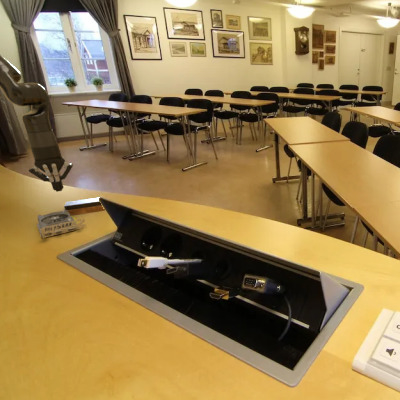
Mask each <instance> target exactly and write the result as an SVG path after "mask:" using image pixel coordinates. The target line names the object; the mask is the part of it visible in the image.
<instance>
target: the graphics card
mask: <svg viewBox="0 0 400 400" xmlns="http://www.w3.org/2000/svg"><path fill="white" fill-rule="evenodd" d="M63 210H64V209H63ZM63 210H61V211H54V212H49V213H46V214H43V215H41V214H38V215H37V222H38V223H36V225H37V229H38V232H39V235H40V238H42V240H43V241H44V239H45V238H49V237H52V236H58V235H60V234H65V233H70V232H73V231H77V230H82V229H84V228H85V227H87V224H86V223H85V222H86V221H85V218H83V219H82V218H79V219H77V218H76V217H75V216H74V215H70V214H69V212H68V211H67V210H64V211H63Z"/></svg>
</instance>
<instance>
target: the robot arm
mask: <svg viewBox="0 0 400 400" xmlns="http://www.w3.org/2000/svg"><path fill="white" fill-rule="evenodd" d="M21 80H22V74H21V72H20V71H19V70H18V69H17V68H16V67H15V66H14V65H13V64H11V63H10V62H9V60H7V59H6V58H5V57H4V56H3V55H2V54H0V91H1V92H2V94H3V95H4V97H5V98H6V99H7V100H8V101H9V102H10V103H11V104H13V105H15V106H18V107H29V106H30V111H29V112H27V113H24V114H22V115H21V122H22V125H23V127H24V131H25V134H26V138H27V143H28V145H29V149H30V150H31V153H32V156H33V159H34V162H33V164H34V165H33V166H31V168H29V169H28V172H29V173H30V174H32V175H34V176H35V177H37V178H38V179H40V180H41V181H43V182H48V183H50V184H51V187H52V190H53V191H55V192H62V191H63V189H64V183H63V180H66V178H67V176H69V173H70V172H71V170H72V168H73V167H74V163H69V162H67V161H66V160H65V158H64V157H63V156H62V153H61V150H60V146H59V144H58V143H59V142H58V140H57V136H56V134H55V133H54V131H53V127H52V123H51V121H50V97H49V94H48V91H47V90H46V88H45V87H44V86H43V85H42V84H40V83H37V82H20V81H21ZM63 167H64V169H65V170H64V172H63V173H62V175H61V170H62V168H63ZM41 171H42V172H41Z"/></svg>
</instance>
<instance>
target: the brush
mask: <svg viewBox="0 0 400 400" xmlns="http://www.w3.org/2000/svg"><path fill="white" fill-rule="evenodd" d="M100 197H101V196H99V197H92V198H84V199H77V200H71V201H69V200H68V201H66V202H65V204H64V206H63V207H64V209H63V210H62V211H64V210H67V211H68V212H69V214H70V215H71V216H74V215H82V214H89V213H94V212H102V211H105V210H104V209H103V207H102V205H101V203H100V202H99V198H100Z"/></svg>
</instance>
